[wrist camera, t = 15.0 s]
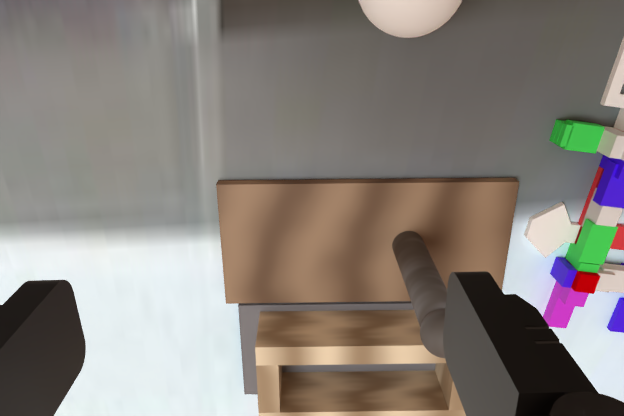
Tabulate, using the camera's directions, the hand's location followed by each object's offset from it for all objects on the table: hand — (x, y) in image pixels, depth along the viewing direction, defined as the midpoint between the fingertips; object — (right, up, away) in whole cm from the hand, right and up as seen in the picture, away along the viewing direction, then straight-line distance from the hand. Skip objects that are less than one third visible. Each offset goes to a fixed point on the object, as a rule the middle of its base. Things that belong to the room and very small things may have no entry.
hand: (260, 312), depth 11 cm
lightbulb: (+7, +18, +25) cm, 31 cm away
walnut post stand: (+6, -1, +32) cm, 33 cm away
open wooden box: (+6, -11, +36) cm, 38 cm away
